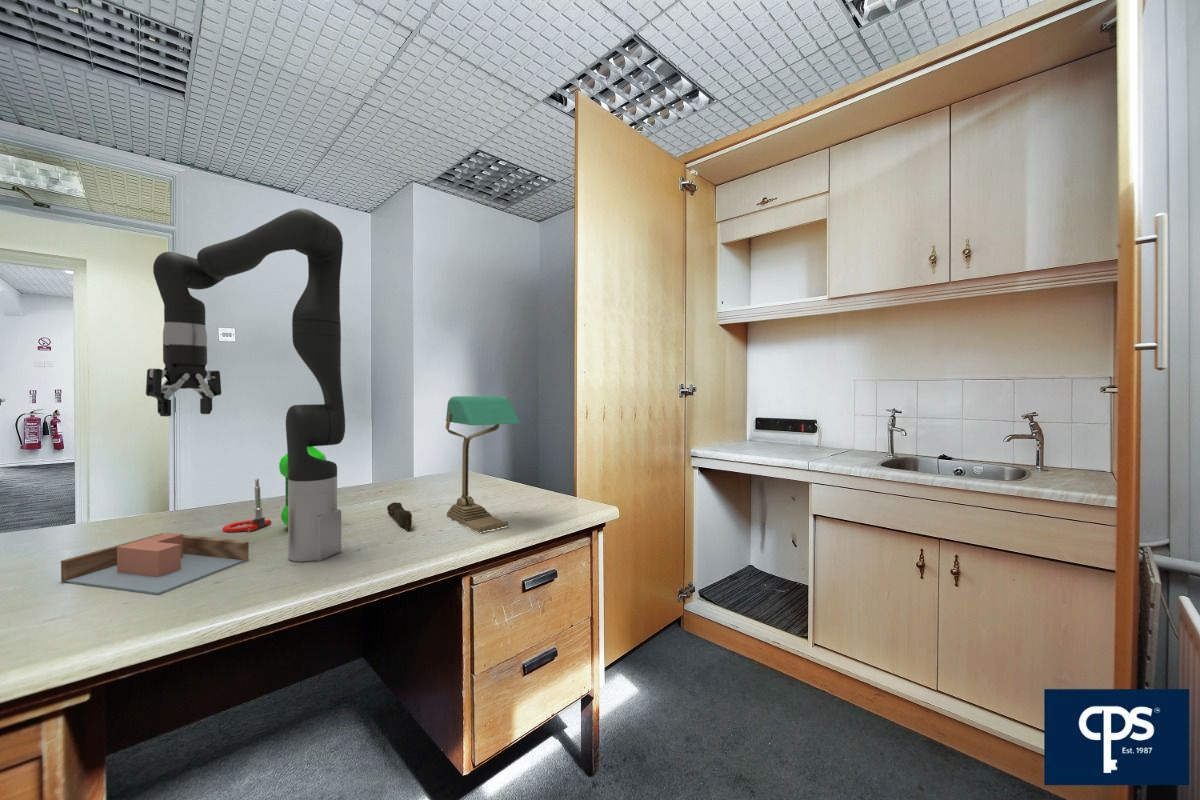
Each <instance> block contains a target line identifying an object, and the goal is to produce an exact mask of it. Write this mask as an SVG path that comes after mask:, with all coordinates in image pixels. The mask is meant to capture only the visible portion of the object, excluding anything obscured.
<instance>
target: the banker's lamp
mask: <svg viewBox="0 0 1200 800" xmlns="http://www.w3.org/2000/svg"><path fill="white" fill-rule="evenodd" d="M517 414H518V413H516V409H515V408H514V406H513V404H512V402H511V401H510V399H509V398H507V397H506V396H499V395H497V396H496V395H491V396H489V395H483V396H481V395H479V396H478V395H475V396H473V395H472V396H471V395H470V396H469V395H465V396H464V395H463V396H461V395H460V396H458V395H457V396H455V395H453V396H452V397H450V398H449V399H448V401H447V408H446V415H445V416H446V418H445V423H446V424H445V430H446V431H447V432H448V433H449V434H450V435H454V436H457V437H460V438H463V442H462V461H461V462H462V463H461V464H462V465H461V466H462V470H461V472H462V473H461V474H462V477H461V479H462V480H461V483H462V484H461V497H459V498H457V500H456V503H453V504H452V505H451V506H450V507H449V509H448V511H447V512H446V518H447V517H449V518H451V519H453V520H455V521H457V522H459V523H461V524H463V525H465V526H467V527H469V528H471V529H473V530H475V531H477V532H479V533H480V532H483V531H487V530H492V529H497V528H501V527H505V526H508V527H509V520H502V519H500V518H498V517H495V516H492V514H491V513H490V512H488V510H487V509H486V508H485V507H483V505H480V504H477V503H475V501H474V499H473V497H472V496H470V495H469V458H470V457H469V455H470V454H469V452H470V450H469V448H470V442H471V440H473V438H477V437H480V436H483V435H486V434H490V433H493V432H495V431H497V430H499V429H500V425H512V424H513V425H514V424H515V425H516V424H521V423H522V422H521V420H520V418H519V417H518V415H517ZM451 423H454V424H460V425H461V424H462V425H466V426H487V425H488V426H490V425H491V426H492V427H489V428H487V429H483V430H480V431H478V432H475V433H473V434H470V435H468V436H467V437H466V435H463V434H461V433H458V432H456V431H453V430H452V429H450V425H451ZM449 518H448V519H449ZM451 519H450V520H451ZM453 520H452V521H453ZM455 521H454V522H455ZM457 522H456V523H457ZM459 523H458V524H459ZM461 524H460V525H461ZM463 525H462V526H463ZM465 526H464V527H465ZM467 527H466V528H467ZM469 528H468V529H469ZM471 529H470V530H471ZM473 530H472V531H473ZM475 531H474V532H475ZM477 532H476V533H477ZM479 533H478V534H479Z"/></svg>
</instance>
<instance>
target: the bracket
mask: <svg viewBox="0 0 1200 800" xmlns="http://www.w3.org/2000/svg"><path fill="white" fill-rule="evenodd" d="M164 533H165V534H162V535H158V534H157V535H158V536H155V537H151V538H147V537H146V538H147V539H144V540H140V541H137V542H133V543H129V544H126V545H122V546H119V547H117V572H119V573H127V574H136V575H145V576H154V577H160V576H163V575H166V574H168V573H171V572H174V571H177V570H180V569H181V558H183V535H184V533H183V534H182V533H172V532H164Z"/></svg>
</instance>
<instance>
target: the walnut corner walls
mask: <svg viewBox="0 0 1200 800" xmlns="http://www.w3.org/2000/svg"><path fill="white" fill-rule="evenodd" d="M165 533H166V532H162V533H158V534H154V535H151V536H147V537H144V538H140V539H136V540H132V541H130V542H129V541H128V542H125V543H121V544H117V545H114V546H110V547H106V548H103V549H99V550H96V551H93V552H88V553H85V554H81V555H77V556H74V557H70V558H67V559H63V560H60V574H61V575H60V579H61V580H62V582H61V583H65V581H64V582H63V580H69V579H73V578H76V577H79V576H82V575H86V574H89V573H92V572H95V571H99V570H102V569H105V568H108V567H112V566H115V565H117V547H119V546H122V545H126V544H129V543H133V542H137V541H140V540H144V539H147V538H151V537H155V536H158V535H162V534H165ZM249 552H250V550H249V541H246V540H238V539H236V540H235V539H226V538H215V537H206V536H196V535H186V534H183V554H190V555H200V556H209V557H218V558H227V559H236V560H245V559H248V558H249V555H250V553H249ZM61 580H60V581H61Z"/></svg>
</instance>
